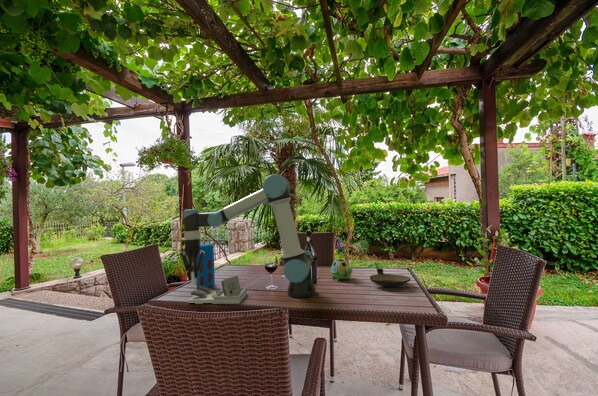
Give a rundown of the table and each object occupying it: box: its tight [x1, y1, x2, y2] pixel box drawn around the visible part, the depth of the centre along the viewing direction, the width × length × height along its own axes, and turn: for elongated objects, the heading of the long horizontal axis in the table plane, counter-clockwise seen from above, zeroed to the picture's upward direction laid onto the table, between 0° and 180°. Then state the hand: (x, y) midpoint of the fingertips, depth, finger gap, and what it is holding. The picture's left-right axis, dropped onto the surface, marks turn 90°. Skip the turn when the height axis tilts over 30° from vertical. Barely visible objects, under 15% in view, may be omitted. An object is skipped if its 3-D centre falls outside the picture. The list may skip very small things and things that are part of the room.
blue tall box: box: [195, 243, 216, 289], centre depth 182 cm, size 11×11×25 cm
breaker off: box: [196, 285, 213, 293], centre depth 160 cm, size 1×3×8 cm
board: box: [188, 287, 248, 305], centre depth 156 cm, size 26×15×4 cm, turn 85°
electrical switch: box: [221, 275, 242, 296], centre depth 157 cm, size 9×5×9 cm, turn 141°
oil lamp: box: [369, 265, 411, 288], centre depth 173 cm, size 22×30×8 cm
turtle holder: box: [330, 258, 353, 282], centre depth 186 cm, size 12×18×12 cm
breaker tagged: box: [190, 289, 208, 297], centre depth 154 cm, size 1×3×8 cm
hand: (194, 284), depth 155 cm, fingers closed
